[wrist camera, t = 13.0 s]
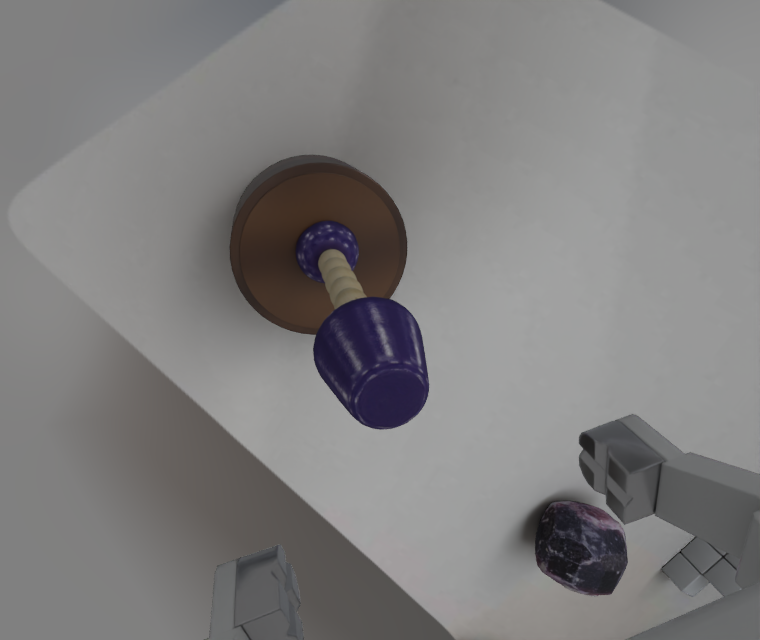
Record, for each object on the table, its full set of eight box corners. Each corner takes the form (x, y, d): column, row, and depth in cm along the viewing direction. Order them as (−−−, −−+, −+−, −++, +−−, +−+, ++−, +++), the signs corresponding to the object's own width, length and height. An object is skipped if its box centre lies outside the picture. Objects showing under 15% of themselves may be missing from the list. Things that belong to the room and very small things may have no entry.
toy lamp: (362, 282, 32) (457, 431, 17) (297, 295, 31) (337, 464, 16) (353, 215, 30) (452, 321, 15) (282, 227, 29) (314, 352, 14)
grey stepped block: (660, 568, 71) (705, 619, 64) (718, 516, 68) (771, 562, 61) (694, 585, 76) (739, 633, 69) (749, 537, 74) (801, 582, 67)
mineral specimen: (507, 542, 54) (581, 595, 46) (551, 472, 57) (629, 509, 49) (540, 576, 59) (613, 630, 50) (580, 509, 62) (655, 549, 54)
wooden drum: (206, 178, 31) (199, 191, 27) (370, 136, 33) (389, 141, 28) (263, 326, 37) (265, 356, 32) (401, 284, 38) (421, 307, 34)
